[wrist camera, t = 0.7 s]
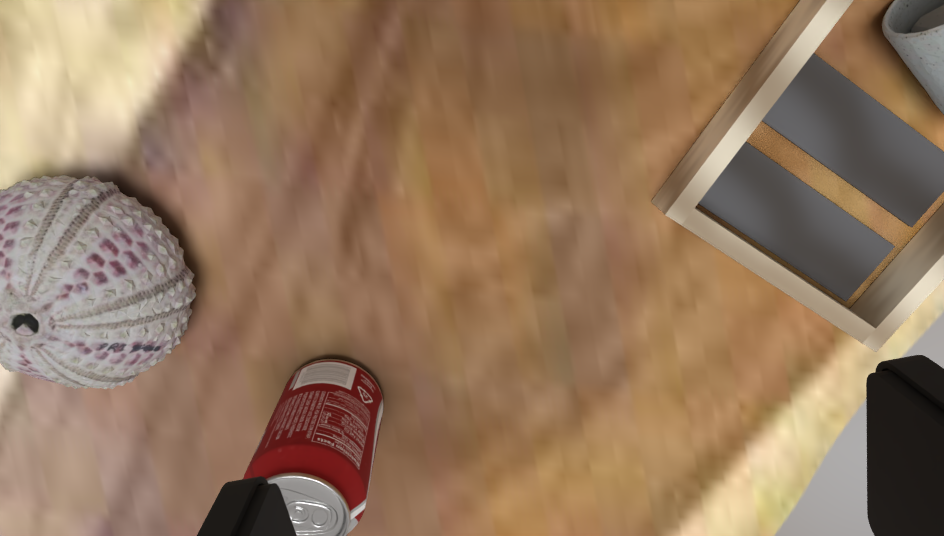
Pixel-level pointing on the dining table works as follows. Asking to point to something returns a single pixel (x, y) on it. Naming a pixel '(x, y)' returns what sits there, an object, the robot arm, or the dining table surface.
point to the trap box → (802, 208)
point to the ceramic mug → (919, 41)
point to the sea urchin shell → (87, 283)
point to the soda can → (322, 446)
